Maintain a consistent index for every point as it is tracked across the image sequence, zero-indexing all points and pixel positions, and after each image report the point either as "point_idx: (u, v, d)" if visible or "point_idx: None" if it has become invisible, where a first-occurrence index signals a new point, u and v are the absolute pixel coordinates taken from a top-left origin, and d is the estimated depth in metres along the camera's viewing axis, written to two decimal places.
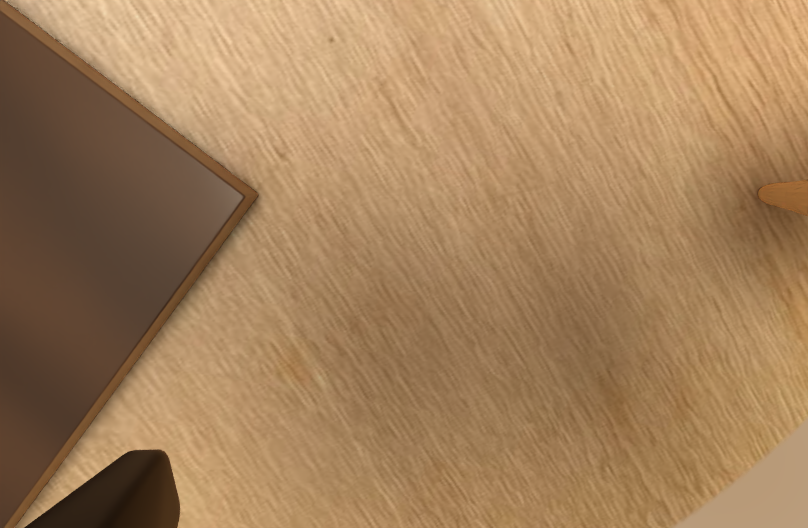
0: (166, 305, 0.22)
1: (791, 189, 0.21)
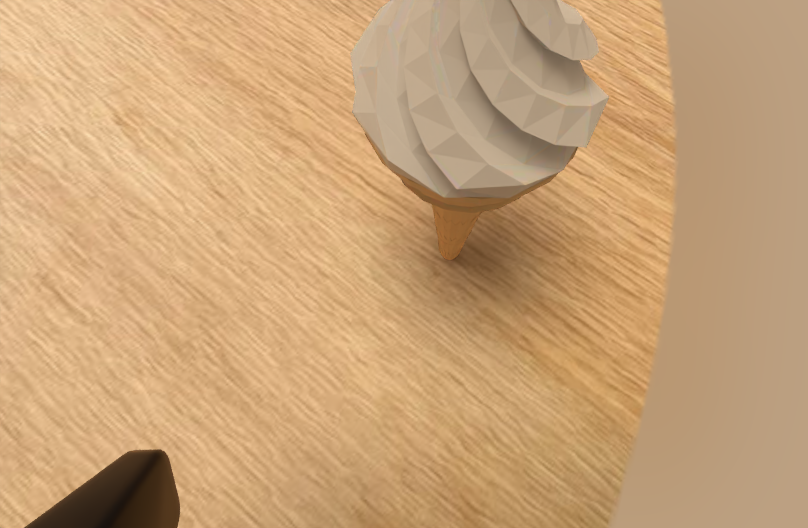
0: None
1: None
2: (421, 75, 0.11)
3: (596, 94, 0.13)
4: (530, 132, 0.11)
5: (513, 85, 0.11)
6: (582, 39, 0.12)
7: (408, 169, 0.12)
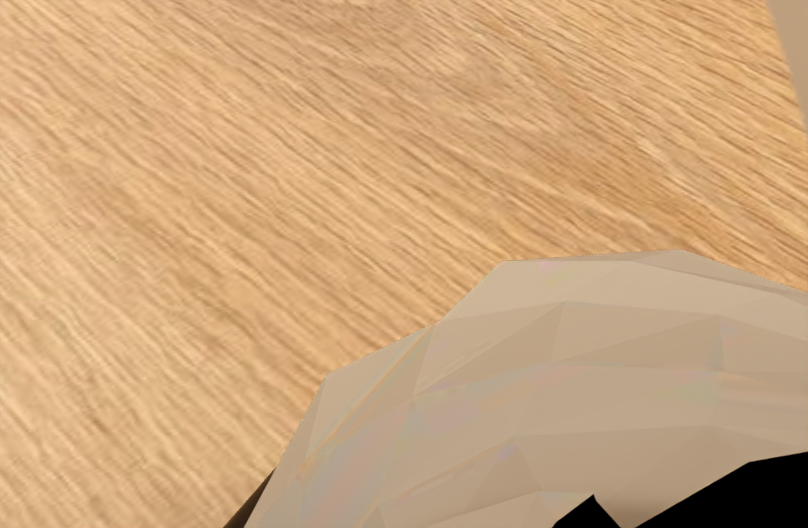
0: None
1: None
2: None
3: None
4: None
5: None
6: None
7: None
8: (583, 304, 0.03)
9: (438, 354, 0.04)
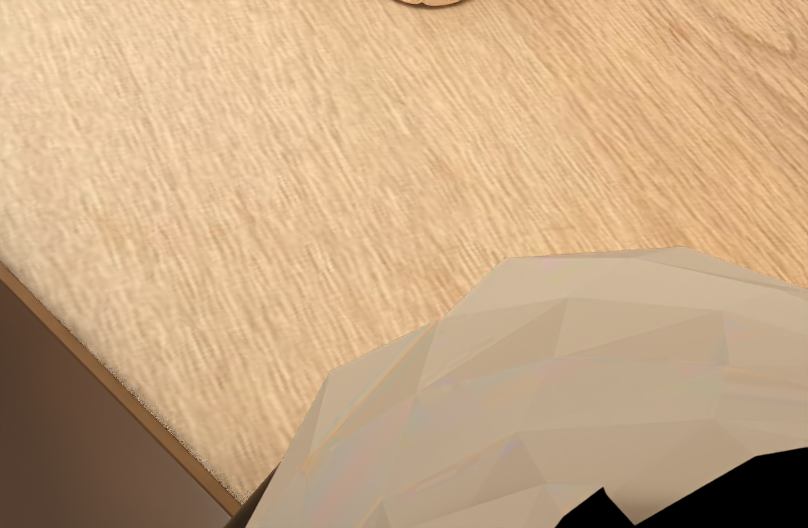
0: None
1: None
2: None
3: None
4: None
5: None
6: None
7: None
8: (587, 300, 0.03)
9: (443, 351, 0.04)
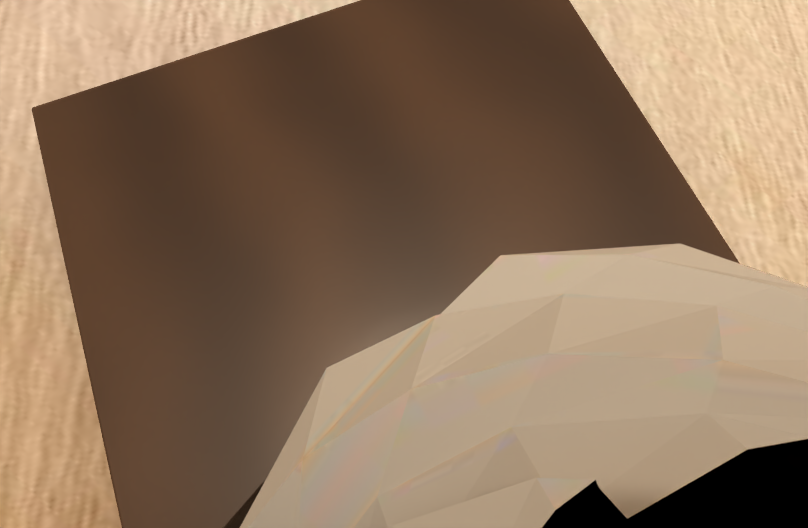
0: None
1: None
2: None
3: None
4: None
5: None
6: None
7: None
8: (582, 296, 0.03)
9: (438, 346, 0.04)
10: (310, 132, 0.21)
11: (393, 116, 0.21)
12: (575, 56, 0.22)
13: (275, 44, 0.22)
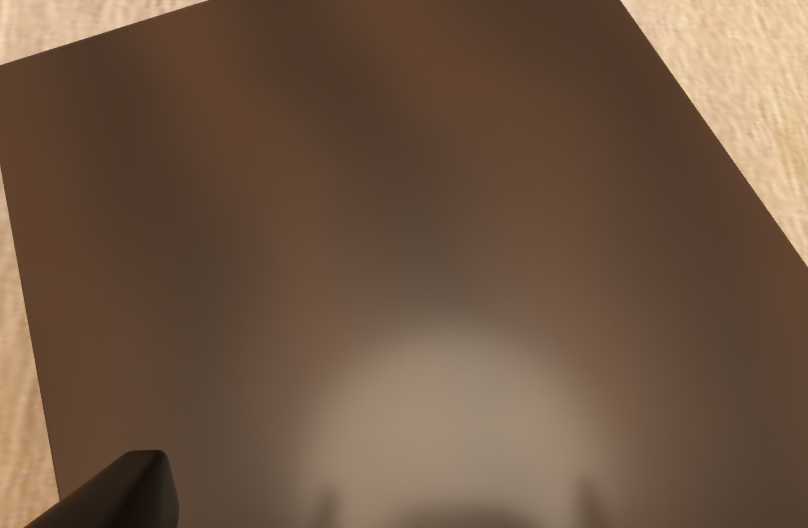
0: None
1: None
2: None
3: None
4: None
5: None
6: None
7: None
8: None
9: None
10: (297, 96, 0.19)
11: (391, 79, 0.19)
12: (596, 13, 0.20)
13: (259, 1, 0.20)
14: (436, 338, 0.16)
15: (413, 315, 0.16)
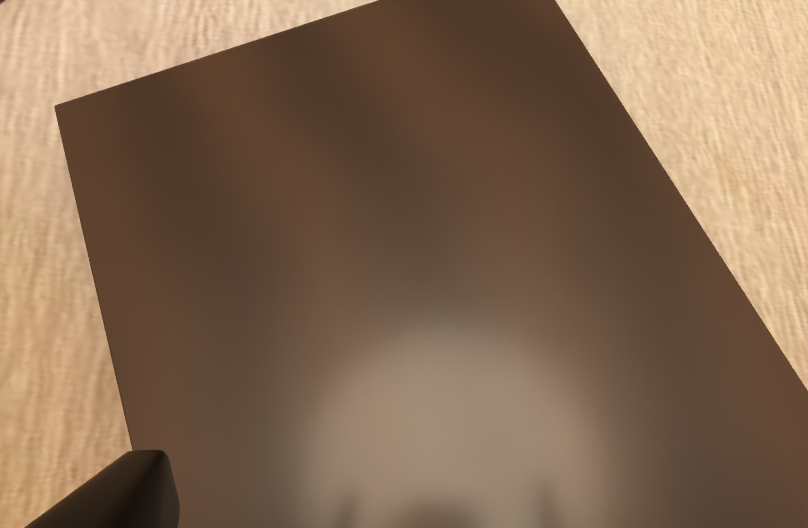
0: None
1: None
2: None
3: None
4: None
5: None
6: None
7: None
8: None
9: None
10: (315, 128, 0.22)
11: (393, 113, 0.23)
12: (564, 57, 0.23)
13: (282, 46, 0.24)
14: (429, 326, 0.20)
15: (411, 309, 0.20)
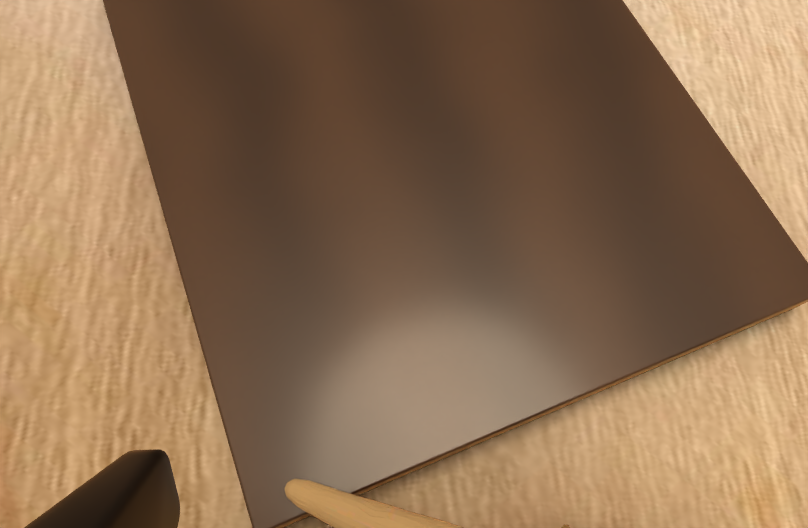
0: (695, 347, 0.20)
1: None
2: None
3: None
4: None
5: None
6: None
7: None
8: None
9: None
10: None
11: None
12: None
13: None
14: (418, 121, 0.23)
15: (402, 108, 0.23)
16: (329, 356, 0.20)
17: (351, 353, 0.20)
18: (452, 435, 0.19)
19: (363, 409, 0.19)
